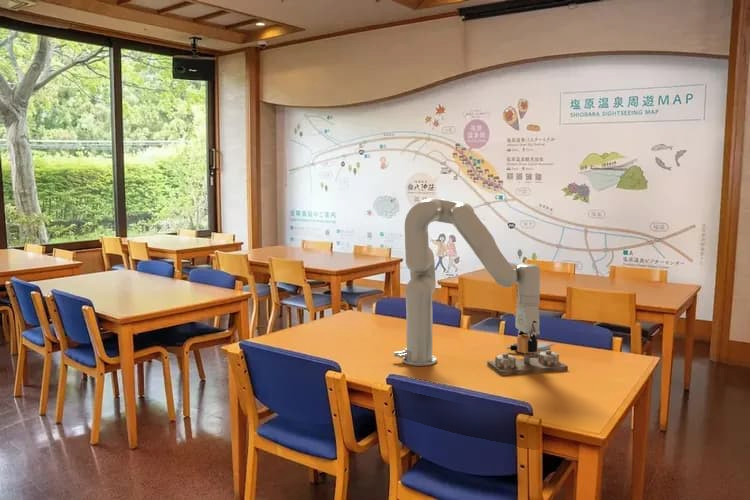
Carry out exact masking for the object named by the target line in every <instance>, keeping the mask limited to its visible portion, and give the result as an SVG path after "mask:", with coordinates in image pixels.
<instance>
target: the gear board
mask: <svg viewBox="0 0 750 500" xmlns="http://www.w3.org/2000/svg"><path fill="white" fill-rule="evenodd" d="M523 355H524V356H523V357H524V358H517V357H516V356H514V355H512V354H509V353H505V352H504V353H502V354H499V353H498V354H496V355H495V357H494V358H495V359H494V360H488V361H486V365H487V366H488V368H490V369H492V370H493V371H494V372H495V373H497V374H498V375H500V376H512V375H525V374H537V373H550V372H563V371H565V370H566V371H569V370H568V369H569V367H568V365H567V364H565V363H564V362H562V361H560V354H559V353H557V352H555V351H552V350H551V351H550V350H546V351H545V352H543V351H541V352H540V353H538V357H531V356H530V354H529V353H523ZM566 371H565V372H566Z"/></svg>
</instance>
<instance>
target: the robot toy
mask: <svg viewBox="0 0 750 500" xmlns="http://www.w3.org/2000/svg"><path fill="white" fill-rule="evenodd" d="M551 346H552V347H553V346H555V344H554V343H553V344H549V343H548V342H542V341H541V342H540V341H538V352H535V353H529V354H530V358H537V357H538V353H540V352H541V351H543V352H545V351H546V350H550V351H551V352H552V349H551ZM506 350H510V351H514V352H517V353H520V354H522V352H519V351H517V341H516V342H513V345H510V346H508V345H507V346H506Z"/></svg>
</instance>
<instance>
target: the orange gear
mask: <svg viewBox="0 0 750 500" xmlns="http://www.w3.org/2000/svg"><path fill="white" fill-rule="evenodd" d="M532 335H533V334H531V337H532ZM516 338H517V340H516V342H517V351H519V352H518V353H520V352H521V354H522V353H523V354H525V353H535V352H528V341H529V337H528V333H526V334H522V335H518V334H517V337H516ZM538 342H539V340H538V341H537V352H538ZM517 351H516V352H517Z"/></svg>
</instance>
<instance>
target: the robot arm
mask: <svg viewBox="0 0 750 500" xmlns="http://www.w3.org/2000/svg"><path fill="white" fill-rule="evenodd" d="M404 219H405V220H404V248H405V249H404V250H405V253H404V254H405V264H406V267H407V268H408V270H409V274H410V280H409V281H408V282H407V284H406V287H405V291H404V292H405V293H404V295H405V306H406V307H405V308H406V309H405V310H406V312H405V313H406V319H405V320H406V347H404V349H403V350H401V351H393V356H394V358H398V359H402V360H401V361H402V362H403V363H404V364H406V365H409V366H413V367H414V366H415V367H423V366H425V367H426V366H432V365H434V364H436V363H437V361H438V360H437V359H438V358H437V357H436V356H434V355H433V322H434V321H433V294H434V292H435V289H436V286H437V285H436V283H437V282H436V265H435V263H436V262H435V255H434V254H435V253H434V251H433V250H432V249H431V247H430V245H429V244H430V243H429V231H428V230H429V225H430V224H431V223H434V222H438V223H445V224H450V225H453V226H454V228H455V229H456V231H457V232H458V233H459V234H460V235H461V236H462V238H463V239H464V241H465V242H466V244H467V245H468V246H469V248H470V249H471V250H472V251H473V252H474V253H473V254H475V256H476V257H477V258H478V260H479V261H480V262H481V264H482V265H483V267H484V268H485V270H486V271H487V272H488V273H489V275H490V276H491V277H492V279H493V280H494V281H495V282H496V283H497V284H498V285H499V286H501V287H502V288H510V287H513V286H514V285H515V284H516V283H517V295H516V296H517V302H516V308H515V324H514V326H515V329H517V330H518V331H517V336H518V335H522V334H525V335H526V334H527V335H528V337H529V341H528V352H537V341H538V342H539V336H540V335H541V332H540V310H539V308H540V307H539V306H540V291H541V290H540V288H541V267H540V266H539V265H538V264H535V263H515V262H509V261H508V260H507V258H506V257H505V256H504V254H503V253H502V251H501V250H500V248H499V247H498V245H497V243H496V241H495V238H494V237H493V235H492V233H491V232H490V231H489V230H488V228H487V227H486V226H485V224H484V223H483V221H481V219H480V218H479V217H478V216H477V214H476V213H475V210H474V207H473V206H471V204H469V203H466V202H461V201H453V200H449V199H442V198H436V197H429V198H426V199H423V200H420V201H419V202H417V203H416V204H414V205H413V206H412V207H411V208H410V209H409V210H408V212H407V214H406V217H405V218H404ZM531 335H532V337H531Z"/></svg>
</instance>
